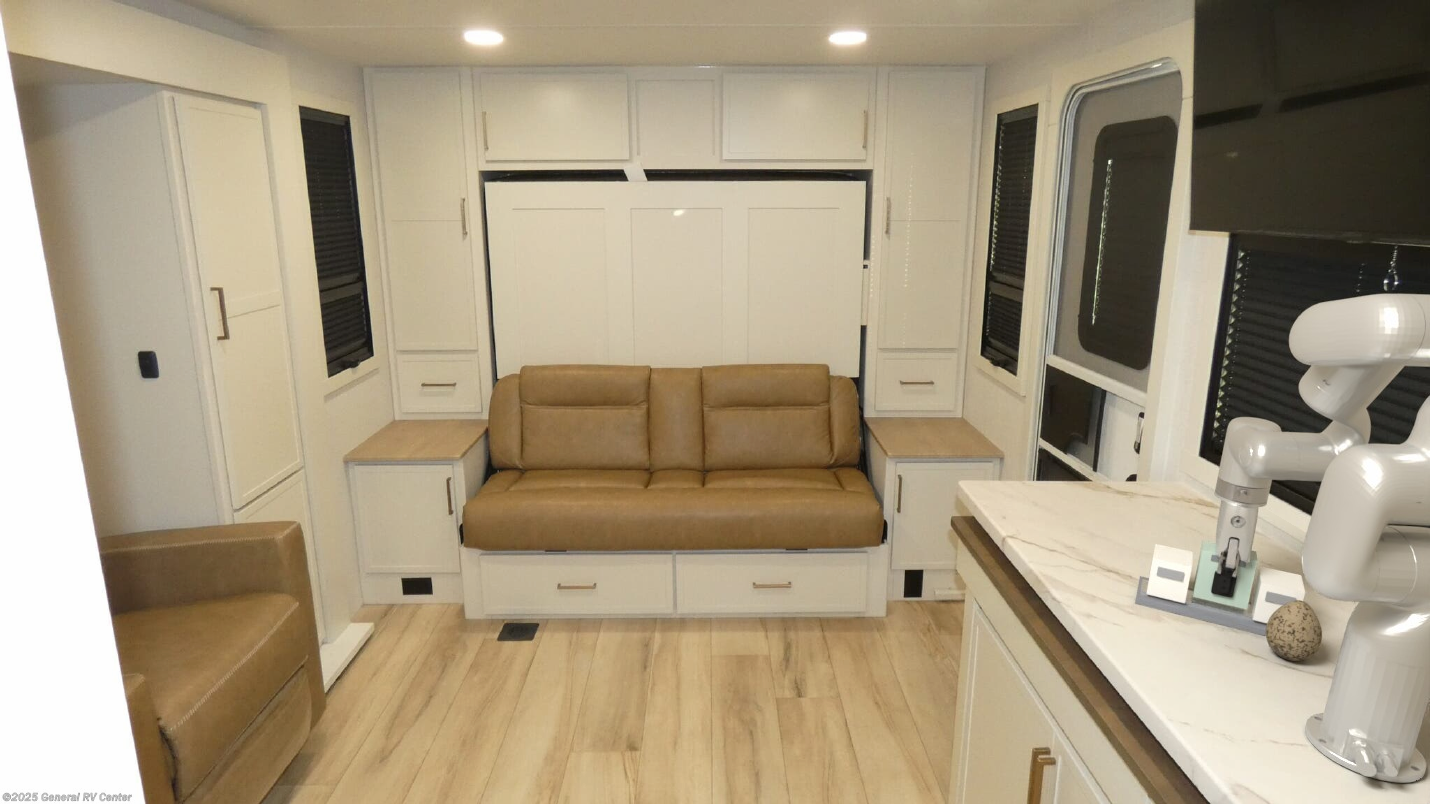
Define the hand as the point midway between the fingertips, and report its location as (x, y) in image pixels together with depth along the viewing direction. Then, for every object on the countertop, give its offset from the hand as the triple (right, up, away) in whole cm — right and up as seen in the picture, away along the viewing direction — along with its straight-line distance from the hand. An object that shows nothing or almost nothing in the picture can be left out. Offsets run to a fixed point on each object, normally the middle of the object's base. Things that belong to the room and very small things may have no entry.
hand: (1221, 587), depth 140 cm
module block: (0, -2, +1) cm, 2 cm away
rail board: (0, -4, +1) cm, 5 cm away
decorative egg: (+3, -8, -12) cm, 15 cm away
